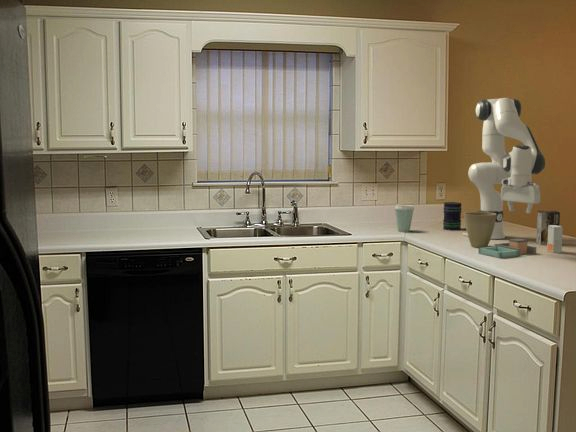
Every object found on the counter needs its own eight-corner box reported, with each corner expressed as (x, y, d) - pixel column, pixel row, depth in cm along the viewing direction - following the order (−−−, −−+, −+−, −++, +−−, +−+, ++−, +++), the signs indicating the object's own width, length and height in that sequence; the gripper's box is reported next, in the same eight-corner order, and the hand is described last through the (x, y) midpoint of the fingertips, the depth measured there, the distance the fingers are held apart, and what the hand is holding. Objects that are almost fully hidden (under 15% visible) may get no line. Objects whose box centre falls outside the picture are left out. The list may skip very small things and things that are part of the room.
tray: (478, 253, 300) (478, 248, 300) (496, 251, 305) (496, 246, 305) (499, 258, 289) (500, 252, 288) (518, 256, 294) (518, 250, 294)
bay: (494, 250, 308) (494, 244, 308) (511, 248, 313) (511, 242, 313) (518, 255, 295) (518, 248, 295) (536, 253, 300) (536, 247, 300)
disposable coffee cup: (404, 229, 378) (405, 203, 376) (418, 231, 369) (418, 204, 367) (390, 230, 372) (390, 204, 370) (403, 233, 363) (404, 205, 361)
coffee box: (554, 242, 331) (555, 210, 329) (559, 244, 325) (560, 211, 323) (535, 242, 331) (537, 210, 329) (540, 244, 325) (541, 211, 323)
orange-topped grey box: (508, 252, 303) (509, 239, 303) (518, 251, 306) (519, 238, 305) (517, 254, 299) (517, 240, 298) (527, 253, 302) (527, 239, 301)
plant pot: (486, 243, 328) (488, 211, 326) (500, 248, 313) (502, 215, 311) (457, 244, 326) (458, 212, 324) (470, 249, 311) (471, 215, 309)
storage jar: (443, 230, 375) (444, 203, 373) (442, 227, 384) (443, 202, 382) (461, 230, 373) (462, 204, 371) (460, 228, 382) (461, 202, 381)
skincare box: (546, 250, 308) (547, 225, 306) (555, 250, 308) (556, 225, 307) (552, 253, 302) (554, 226, 300) (561, 253, 302) (563, 226, 301)
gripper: (544, 182, 291) (543, 214, 292) (509, 180, 309) (508, 209, 310) (534, 182, 288) (532, 214, 290) (498, 180, 306) (497, 210, 308)
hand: (519, 212), depth 300 cm, fingers open, 8 cm apart
